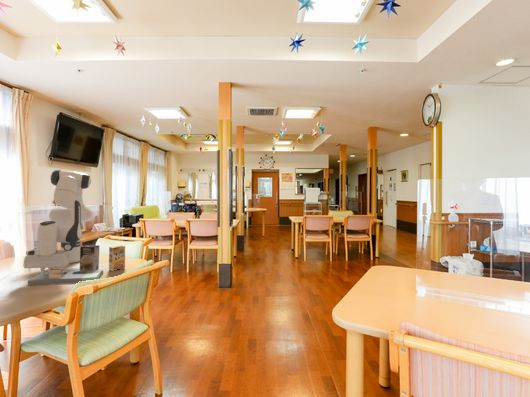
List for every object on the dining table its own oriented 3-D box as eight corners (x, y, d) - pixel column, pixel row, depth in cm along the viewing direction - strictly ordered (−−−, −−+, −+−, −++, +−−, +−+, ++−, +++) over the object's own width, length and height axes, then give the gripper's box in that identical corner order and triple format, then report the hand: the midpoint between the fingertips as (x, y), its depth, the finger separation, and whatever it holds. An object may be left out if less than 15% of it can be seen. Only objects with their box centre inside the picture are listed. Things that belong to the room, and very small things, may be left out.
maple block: (53, 276, 156) (53, 268, 156) (63, 275, 158) (63, 267, 158) (49, 278, 151) (49, 270, 151) (59, 278, 153) (60, 270, 153)
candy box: (112, 271, 178) (112, 247, 177) (108, 270, 180) (109, 247, 179) (125, 268, 185) (125, 245, 185) (121, 267, 187) (121, 245, 187)
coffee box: (78, 271, 174) (79, 246, 174) (85, 269, 181) (85, 244, 181) (93, 272, 175) (94, 247, 174) (99, 269, 181) (99, 245, 181)
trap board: (41, 276, 162) (41, 272, 162) (103, 273, 172) (103, 269, 172) (27, 285, 147) (27, 280, 147) (95, 281, 157) (95, 277, 157)
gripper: (71, 249, 159) (70, 272, 159) (28, 250, 153) (27, 274, 153) (66, 251, 153) (66, 275, 153) (22, 252, 147) (21, 278, 147)
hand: (46, 275), depth 153 cm, fingers closed
